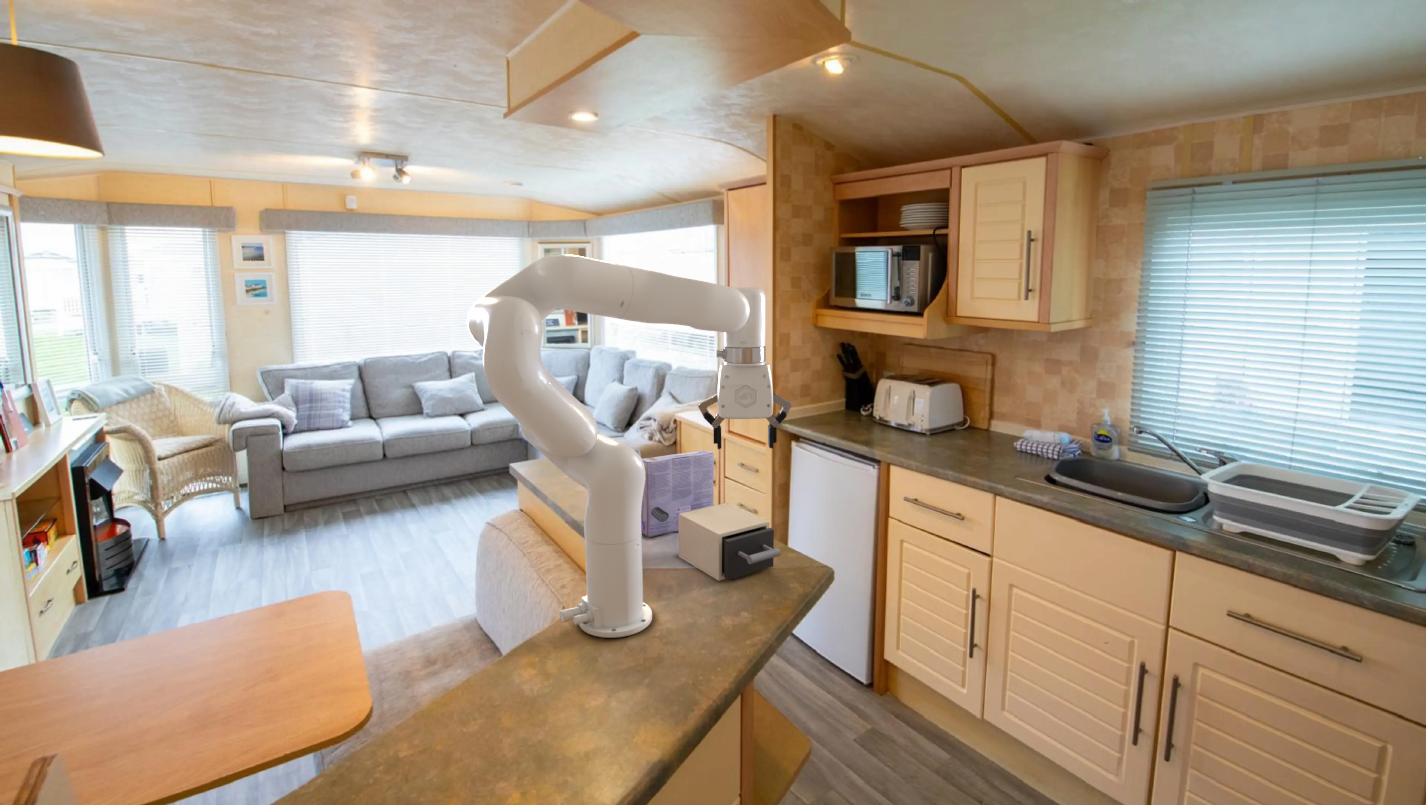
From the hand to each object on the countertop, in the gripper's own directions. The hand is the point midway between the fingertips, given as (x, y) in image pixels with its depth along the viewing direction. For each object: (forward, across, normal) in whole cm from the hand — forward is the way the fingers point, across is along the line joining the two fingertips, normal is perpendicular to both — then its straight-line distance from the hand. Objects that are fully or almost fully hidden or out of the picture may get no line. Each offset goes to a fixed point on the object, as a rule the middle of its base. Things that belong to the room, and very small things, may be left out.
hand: (744, 447), depth 130 cm
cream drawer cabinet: (+27, -4, +10) cm, 29 cm away
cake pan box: (+27, -14, +30) cm, 43 cm away
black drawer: (+26, -1, +6) cm, 27 cm away
